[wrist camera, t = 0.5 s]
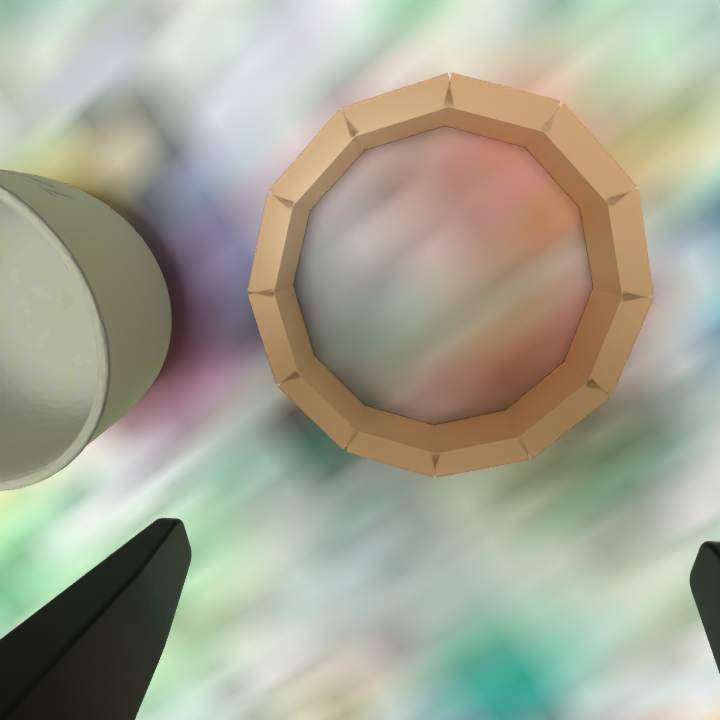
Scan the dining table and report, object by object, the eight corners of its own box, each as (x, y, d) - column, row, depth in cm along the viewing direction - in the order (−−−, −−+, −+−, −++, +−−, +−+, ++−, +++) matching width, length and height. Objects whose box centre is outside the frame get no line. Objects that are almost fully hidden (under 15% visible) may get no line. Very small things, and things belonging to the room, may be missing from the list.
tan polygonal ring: (638, 405, 21) (672, 432, 18) (325, 468, 24) (312, 500, 21) (583, 52, 18) (614, 18, 16) (232, 164, 21) (203, 153, 18)
